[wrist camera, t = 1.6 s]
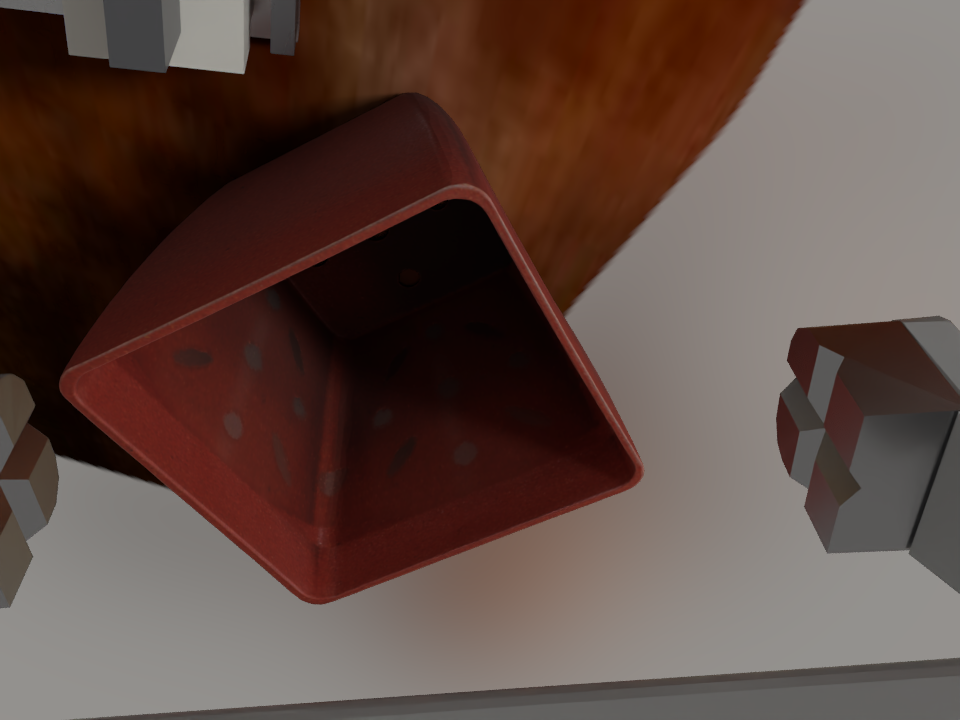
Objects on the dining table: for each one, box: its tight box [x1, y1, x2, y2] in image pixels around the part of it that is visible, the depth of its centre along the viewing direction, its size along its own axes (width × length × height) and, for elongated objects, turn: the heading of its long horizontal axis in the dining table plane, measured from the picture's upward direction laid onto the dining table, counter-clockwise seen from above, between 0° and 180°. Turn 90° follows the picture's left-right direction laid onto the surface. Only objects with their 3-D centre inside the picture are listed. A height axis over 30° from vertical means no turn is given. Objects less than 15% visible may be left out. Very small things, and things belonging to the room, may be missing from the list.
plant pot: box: [59, 93, 644, 604], centre depth 46 cm, size 19×19×17 cm
